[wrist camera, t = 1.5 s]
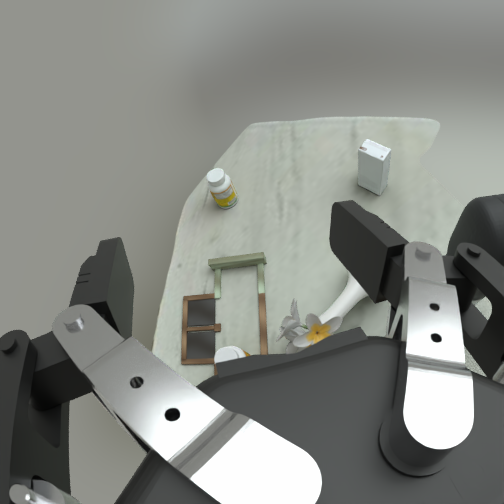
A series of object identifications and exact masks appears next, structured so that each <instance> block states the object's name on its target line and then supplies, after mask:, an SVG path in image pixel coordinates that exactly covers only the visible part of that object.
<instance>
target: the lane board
mask: <svg viewBox="0 0 504 504" xmlns="http://www.w3.org/2000/svg"><path fill="white" fill-rule="evenodd" d="M264 264H266V257H265V255H264V253H263V252H261V253H253V254H246V255H238V256H231V257H223V258H216V259H208V265H209V266H210V267H211V268H212V270H215V293H213V294H203V295H192V296H184V297H183V321H182V358H181V364H214V375H217V374H218V373H217V368H216V364H215V361H214V357H215V332H220V331H221V324H215V299H219V298H221V269H228V268H236V267H244V266H252V265H257V268H258V292H259V316H260V342H261V355H268V347H267V325H266V304H265V283H264ZM201 325H214V326H204V327H188V326H201ZM205 330H214V332H197V333H188V331H205Z"/></svg>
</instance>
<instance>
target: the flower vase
mask: <svg viewBox="0 0 504 504" xmlns="http://www.w3.org/2000/svg"><path fill="white" fill-rule="evenodd" d="M348 276H349V279H348V283H347V285H346V287H345V289H344V290H343V292H342V293H341V294H340V295H339V297H338V298H337V299H336V300H335V301H334V303H333V304H332V305H331V306H330V307H329V308H328V309H327V310H326V311H325V312H324V313H323V314H321V315H320V316H319V317H317V316H316V315H314V314H308V315H307V316H306V325H307V326H306V325H304V324H302V323H301V322H300V318H299V314H298V310H297V301H296V302H295V298H294V299H293V301H292V305H291V315H292V317H291V316H286V317H285V318H284V320H283V322H282V326H281V327H280V328H279V330H280V332H281V333H280V335H279V336H278V338H277V340H276V342H277V341H278V340H279V339H280V338H282V337H283V336H285V337H286V339H288V340H289V341H290V342H289V344H288V345H287V347H286V354H293V353H296V352H300V351H302V350H304V349H305V348H307V347H309V346H311V345H313V344H315V343H317V342H319V341H320V340H322V339H324V338H326V337H328V336H331V335H334V334H332V333H333V332H335V331H336V330H337V329H338V328H339V327H340V326H341V324H342V318H343V317H344V316H345V315H346V314H347V313H348V312H349V311H350V310H351V309H352V308H353V307H354V306H355V305H356V304H357V303H358V302H359V301H360V300H361V299H363V298H365V297H367V296H369V295H368V294H367V293H366V292H365V290H364V289H363V288H362V287H361V286H360V284H359V283H358V282H357V281H356V279H355V278H354V277H353V276H352V275H351V273H350V272H349V271H348ZM301 327H303V328H306V329H308V330H309V332H307V333H306V332H305V331H304V330H303V329H302V328H301Z"/></svg>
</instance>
